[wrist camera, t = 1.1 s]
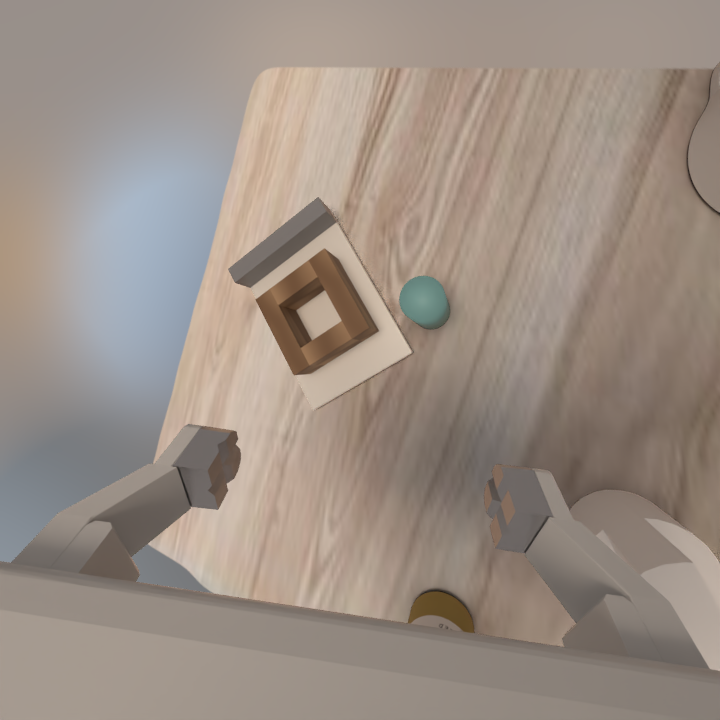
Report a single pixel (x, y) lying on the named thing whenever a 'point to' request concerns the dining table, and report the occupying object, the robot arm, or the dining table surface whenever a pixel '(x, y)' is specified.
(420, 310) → the teal rounded peg
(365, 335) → the socket block
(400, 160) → the dining table surface
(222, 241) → the dining table surface
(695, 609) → the base with upright slab
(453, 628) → the wooden log cylinder
